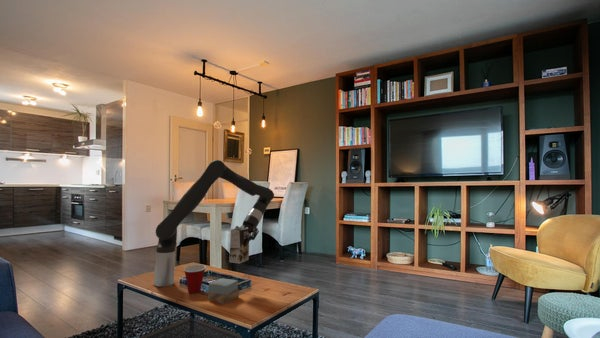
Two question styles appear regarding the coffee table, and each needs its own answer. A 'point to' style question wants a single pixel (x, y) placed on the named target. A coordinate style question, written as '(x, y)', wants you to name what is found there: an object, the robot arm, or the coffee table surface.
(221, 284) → the tower top
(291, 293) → the coffee table surface
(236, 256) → the coffee box
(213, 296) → the tower base
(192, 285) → the plastic cup
